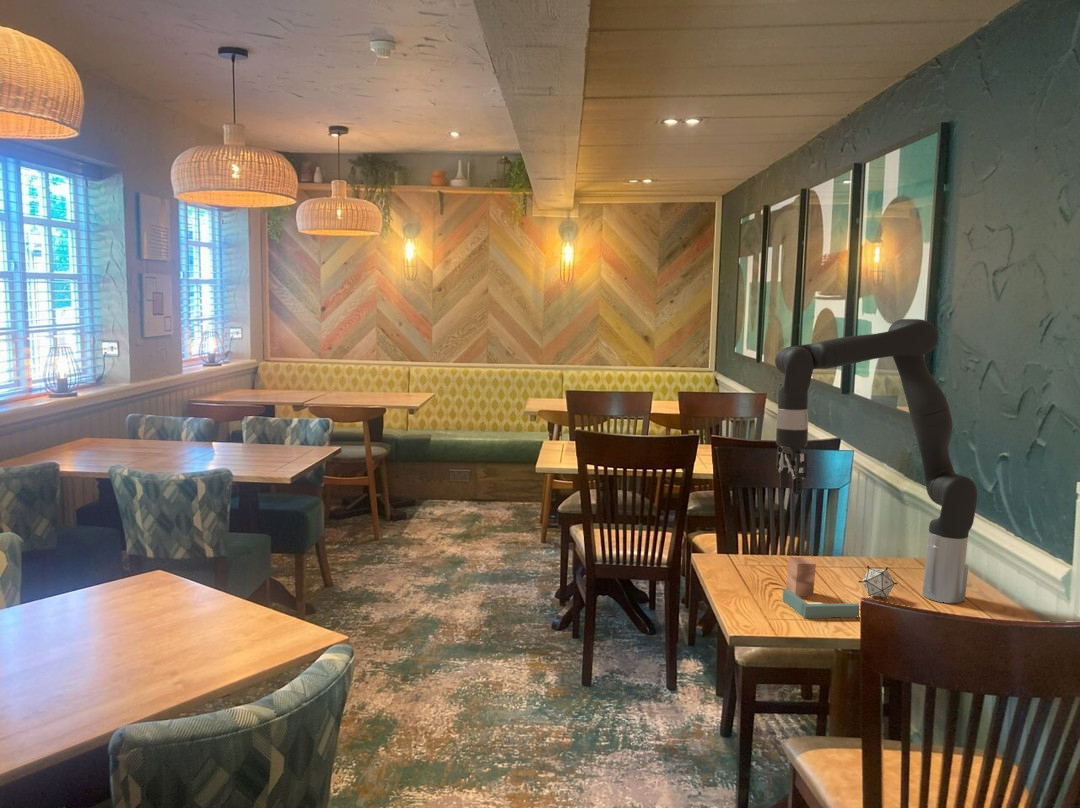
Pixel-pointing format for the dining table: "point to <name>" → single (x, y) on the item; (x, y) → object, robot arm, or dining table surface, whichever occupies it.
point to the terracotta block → (801, 576)
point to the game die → (878, 582)
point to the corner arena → (819, 607)
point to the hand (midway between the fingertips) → (790, 490)
